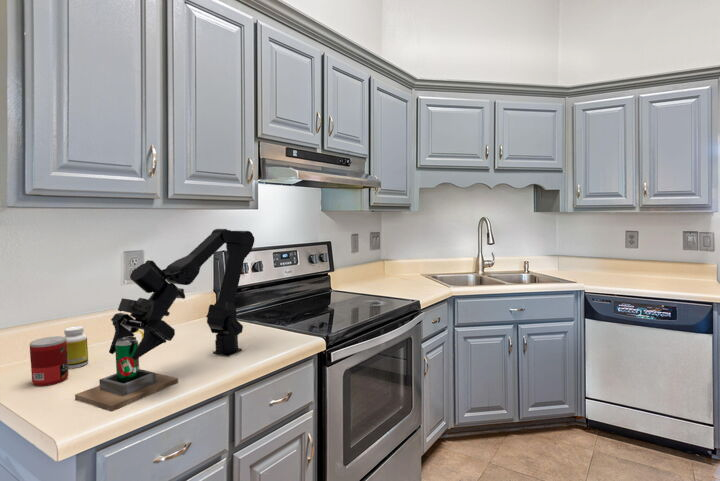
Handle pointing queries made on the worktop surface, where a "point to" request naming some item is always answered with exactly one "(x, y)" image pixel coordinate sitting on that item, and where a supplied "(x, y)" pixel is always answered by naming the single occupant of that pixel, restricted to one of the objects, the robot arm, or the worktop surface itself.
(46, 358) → the canned food
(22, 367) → the worktop surface
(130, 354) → the soda can
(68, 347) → the pill bottle
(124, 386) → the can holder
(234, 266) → the robot arm
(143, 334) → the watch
